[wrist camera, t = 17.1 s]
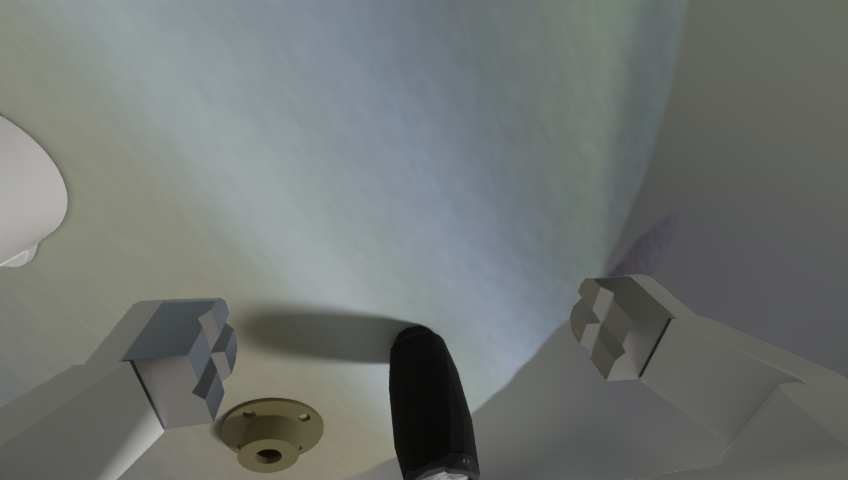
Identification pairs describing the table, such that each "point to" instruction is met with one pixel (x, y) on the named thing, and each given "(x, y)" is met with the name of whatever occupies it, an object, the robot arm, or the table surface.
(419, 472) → the portable speaker
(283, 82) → the table surface
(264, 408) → the flange
